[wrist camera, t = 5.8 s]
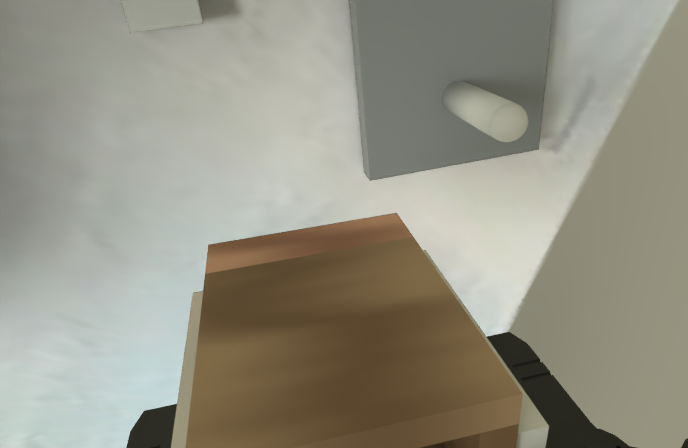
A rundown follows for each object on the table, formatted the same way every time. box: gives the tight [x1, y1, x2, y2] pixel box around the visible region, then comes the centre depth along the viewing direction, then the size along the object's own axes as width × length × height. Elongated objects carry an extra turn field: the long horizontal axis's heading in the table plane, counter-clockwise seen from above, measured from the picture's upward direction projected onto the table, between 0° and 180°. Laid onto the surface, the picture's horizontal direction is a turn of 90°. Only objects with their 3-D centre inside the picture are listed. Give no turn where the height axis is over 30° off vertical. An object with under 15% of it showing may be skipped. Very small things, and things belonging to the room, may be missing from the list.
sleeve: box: [185, 213, 523, 448], centre depth 12 cm, size 5×5×7 cm
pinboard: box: [349, 0, 553, 181], centre depth 25 cm, size 12×18×8 cm, turn 6°
